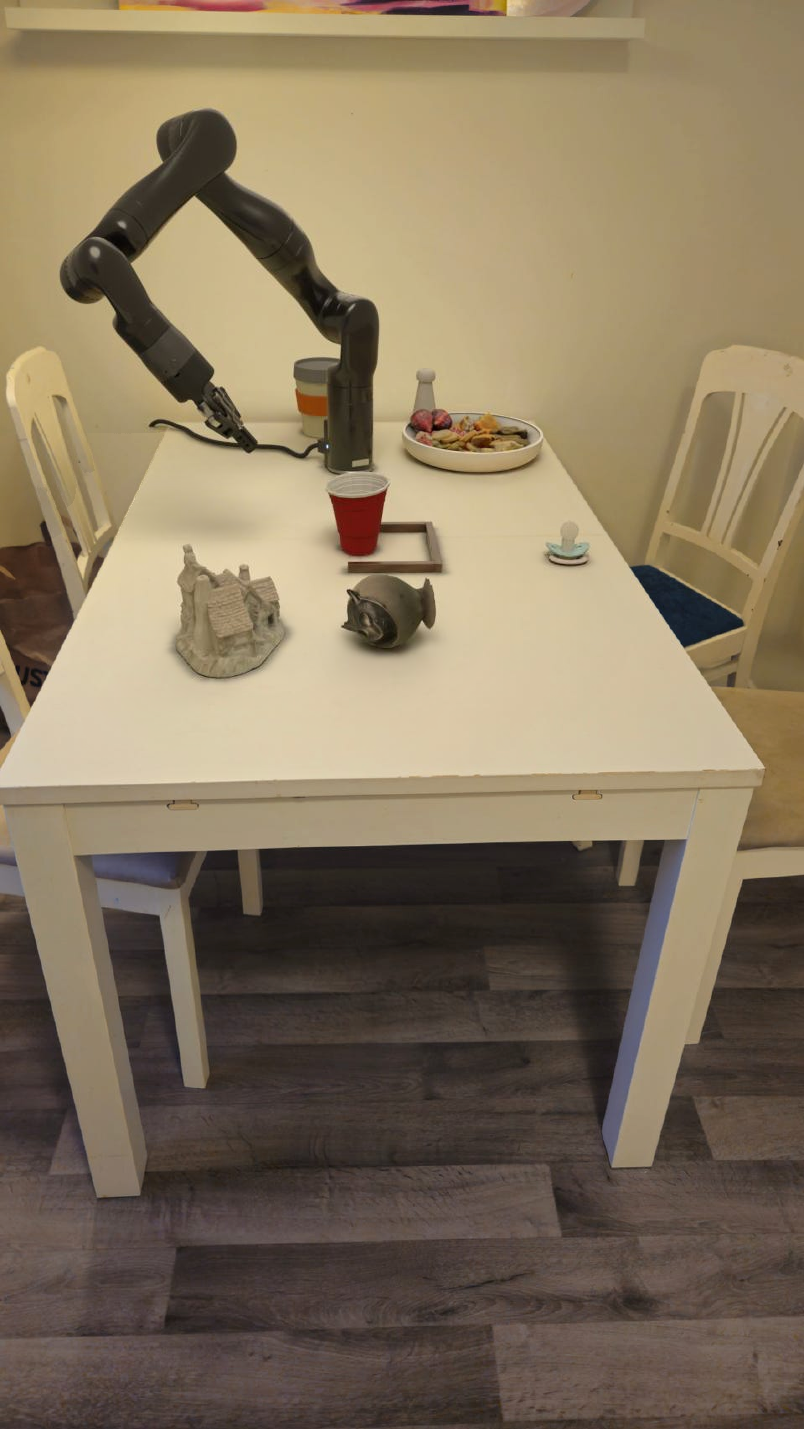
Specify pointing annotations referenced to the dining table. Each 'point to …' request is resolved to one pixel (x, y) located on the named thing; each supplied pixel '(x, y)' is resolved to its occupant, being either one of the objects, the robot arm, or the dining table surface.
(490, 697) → the dining table surface
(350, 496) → the plastic cup
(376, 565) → the frame
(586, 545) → the pacifier
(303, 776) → the dining table surface
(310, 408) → the reusable coffee cup
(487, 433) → the bowl
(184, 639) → the ceramic cottage
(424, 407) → the salt shaker
